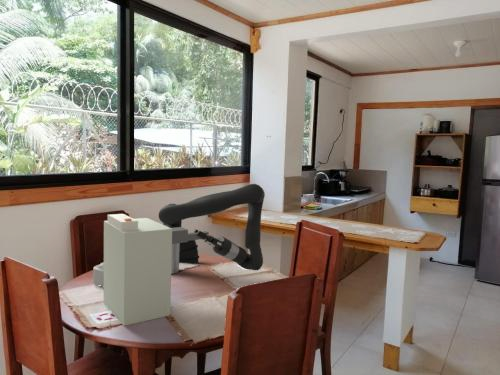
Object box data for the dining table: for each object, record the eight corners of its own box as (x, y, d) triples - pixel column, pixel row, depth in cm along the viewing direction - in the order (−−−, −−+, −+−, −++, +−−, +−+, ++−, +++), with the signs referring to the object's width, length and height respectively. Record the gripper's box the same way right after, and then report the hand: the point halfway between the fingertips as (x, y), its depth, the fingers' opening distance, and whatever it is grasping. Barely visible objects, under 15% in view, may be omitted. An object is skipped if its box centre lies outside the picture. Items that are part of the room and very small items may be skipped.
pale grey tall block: (103, 302, 152) (103, 211, 149) (145, 294, 162) (147, 209, 159) (123, 325, 133) (124, 222, 130) (170, 315, 143) (172, 218, 140)
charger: (160, 241, 156) (160, 229, 156) (203, 236, 168) (203, 224, 167) (166, 244, 151) (166, 231, 151) (210, 239, 163) (210, 227, 162)
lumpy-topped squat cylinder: (119, 287, 169) (119, 267, 168) (89, 286, 169) (89, 266, 168) (126, 279, 179) (127, 261, 178) (98, 278, 179) (98, 259, 178)
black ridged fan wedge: (202, 261, 206) (191, 235, 206) (180, 270, 208) (169, 244, 208) (204, 259, 210) (193, 234, 209) (182, 268, 212) (171, 242, 211)
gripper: (221, 237, 178) (192, 221, 168) (239, 244, 167) (208, 227, 157) (214, 252, 176) (184, 236, 167) (231, 260, 165) (200, 244, 156)
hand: (196, 232), depth 162 cm, fingers closed on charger, 2 cm apart
